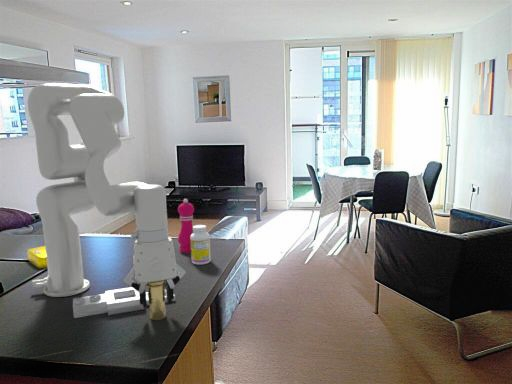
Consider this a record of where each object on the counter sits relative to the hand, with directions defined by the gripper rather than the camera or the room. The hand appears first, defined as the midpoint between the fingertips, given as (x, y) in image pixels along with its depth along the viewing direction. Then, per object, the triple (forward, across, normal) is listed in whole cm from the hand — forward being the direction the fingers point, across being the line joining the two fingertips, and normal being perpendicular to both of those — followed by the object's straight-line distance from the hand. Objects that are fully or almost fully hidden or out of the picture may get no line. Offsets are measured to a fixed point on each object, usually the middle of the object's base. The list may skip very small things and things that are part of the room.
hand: (157, 303), depth 115 cm
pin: (+4, 0, 0) cm, 4 cm away
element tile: (+4, -27, +64) cm, 70 cm away
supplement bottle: (+4, +21, +38) cm, 44 cm away
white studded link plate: (+4, -7, +11) cm, 14 cm away
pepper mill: (+4, +20, +54) cm, 58 cm away
